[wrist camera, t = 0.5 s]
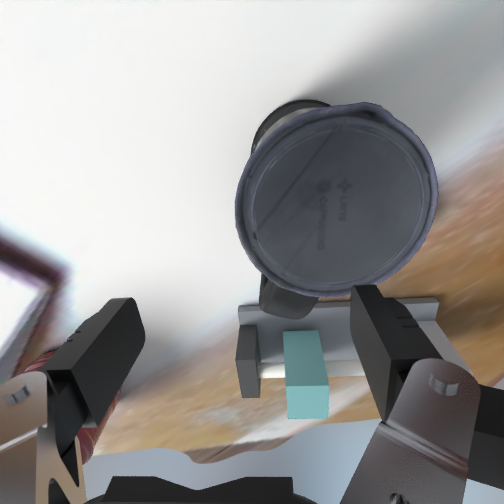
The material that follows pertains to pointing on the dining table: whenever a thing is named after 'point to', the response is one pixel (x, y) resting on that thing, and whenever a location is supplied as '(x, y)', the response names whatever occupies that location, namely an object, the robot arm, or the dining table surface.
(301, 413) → the sleeve
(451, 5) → the dining table surface
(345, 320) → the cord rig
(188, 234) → the dining table surface
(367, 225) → the milk frother
